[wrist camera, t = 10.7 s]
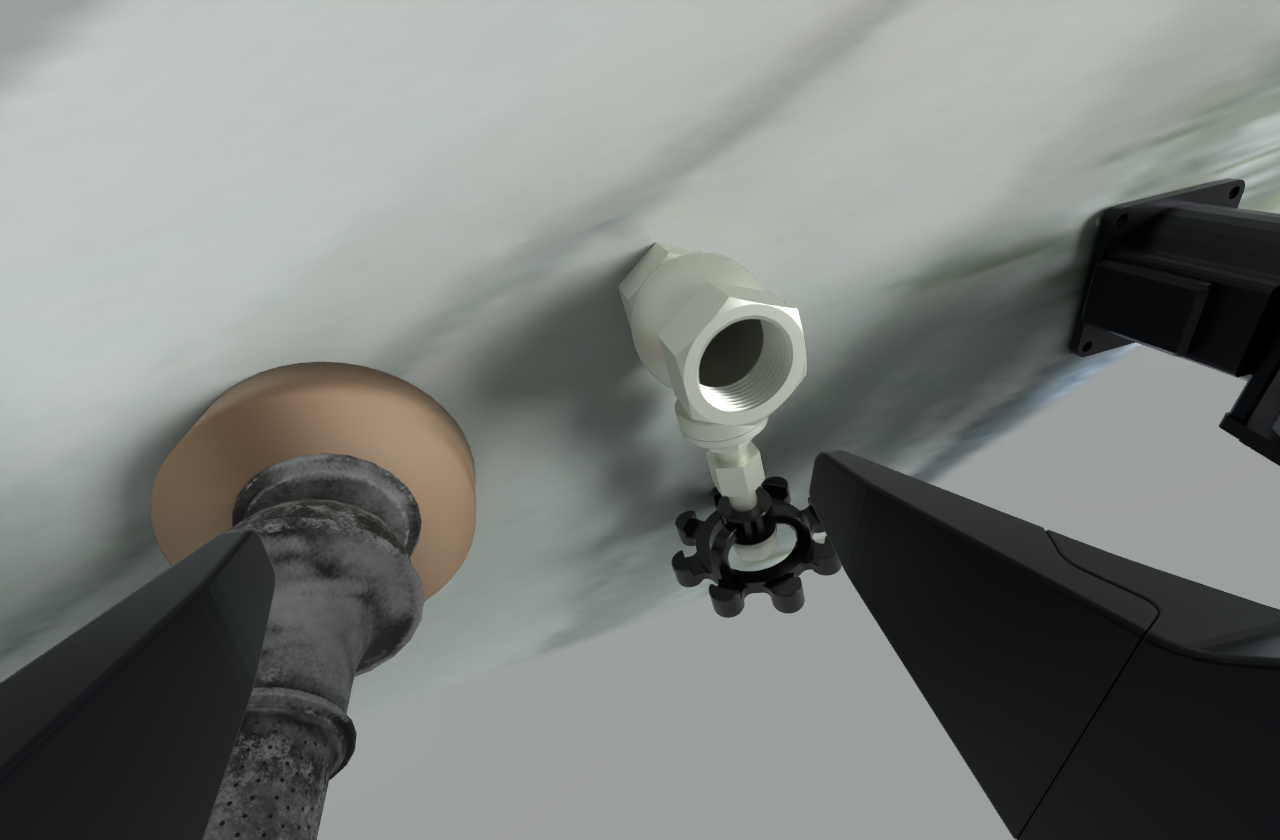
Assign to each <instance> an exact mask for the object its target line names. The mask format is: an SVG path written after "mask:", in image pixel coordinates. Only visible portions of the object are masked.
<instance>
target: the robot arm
mask: <svg viewBox="0 0 1280 840" xmlns="http://www.w3.org/2000/svg"><path fill="white" fill-rule="evenodd" d="M1244 188H1245V182H1244V181H1243V180H1240V179H1224V180H1220V181H1216V182H1212V183H1208V184H1204V185H1199V186H1195V187H1191V188H1187V189H1183V190H1179V191H1175V192H1171V193H1166V194H1162V195H1158V196H1154V197H1150V198H1146V199H1142V200H1138V201H1133V202H1129V203H1125V204H1121V205H1117V206H1114V207H1112V208H1111V209H1110V210H1109V211H1108V212H1107V213H1106V215H1105V216H1104V218H1103V221H1102V225H1101V228H1100V232H1099V236H1098V240H1097V244H1096V248H1095V251H1094V255H1093V259H1092V263H1091V267H1090V271H1089V274H1088V278H1087V282H1086V286H1085V290H1084V294H1083V298H1082V301H1081V305H1080V309H1079V313H1078V317H1077V321H1076V324H1075V328H1074V332H1073V336H1072V340H1071V344H1070V352H1071V353H1073V354H1075V355H1077V356H1080V357H1086V356H1089V355H1093V354H1096V353H1100V352H1103V351H1107V350H1110V349H1114V348H1117V347H1121V346H1124V345H1128V344H1131V343H1135V342H1137V343H1139V344H1142V345H1145V346H1148V347H1151V348H1154V349H1156V350H1159V351H1162V352H1165V353H1168V354H1170V355H1173V356H1178V357H1181V358H1183V359H1186V360H1189V361H1192V362H1195V363H1198V364H1200V365H1204V366H1206V367H1209V368H1212V369H1215V370H1217V371H1220V372H1223V373H1226V374H1229V375H1231V376H1234V377H1237V378H1240V379H1243V380H1246V381H1248V382H1247V384H1246V385H1245V387H1244V389H1243V391H1242V392H1241V394H1240V396H1239V398H1238V399H1237V401H1236V403H1235V404H1234V406H1233V408H1232V409H1231V411H1230V413H1226V414H1225V415H1224V417H1223V419H1222V420H1221V422H1220V424H1219V427H1220V428H1221V429H1223V430H1225V431H1226V432H1228V433H1230V434H1231V435H1233V436H1234V437H1236V438H1238V439H1239V441H1240V442H1242V443H1243V444H1245V445H1246V446H1248V447H1250V448H1251V449H1253V450H1255V451H1256V452H1258V453H1260V454H1261V455H1263V456H1265V457H1266V458H1268V459H1269V460H1271V461H1272V462H1274V463H1276V464H1277V465H1279V466H1280V214H1275V213H1268V212H1260V211H1253V210H1245V209H1238V205H1239V202H1240V200H1241V197H1242V194H1243V192H1244ZM809 494H810V500H811V503H812V506H813V508H814V510H815V512H816V514H817V516H818V518H819V520H820V522H821V524H822V526H823V528H824V530H825V532H826V534H827V536H828V538H829V540H830V542H831V544H832V546H833V548H834V550H835V552H836V554H837V556H838V558H839V561H840V562H841V564H842V566H843V568H844V570H845V572H846V574H847V575H848V577H849V579H850V580H851V582H852V584H853V585H854V587H855V588H856V590H857V592H858V593H859V595H860V596H861V598H862V600H863V601H864V603H865V604H866V606H867V607H868V609H869V610H870V612H871V614H872V615H873V617H874V618H875V620H876V622H877V623H878V625H879V626H880V628H881V630H882V631H883V632H884V634H885V636H886V637H887V639H888V641H889V642H890V644H891V645H892V647H893V649H894V650H895V652H896V653H897V655H898V656H899V658H900V660H901V661H902V663H903V664H904V666H905V667H906V669H907V670H908V672H909V674H910V675H911V677H912V678H913V680H914V681H915V683H916V685H917V686H918V688H919V690H920V691H921V693H922V694H923V696H924V697H925V699H926V701H927V702H928V704H929V705H930V707H931V709H932V710H933V711H934V713H935V715H936V716H937V718H938V720H939V721H940V723H941V724H942V726H943V727H944V729H945V731H946V732H947V734H948V735H949V737H950V738H951V740H952V742H953V743H954V745H955V746H956V748H957V749H958V751H959V753H960V754H961V756H962V757H963V759H964V760H965V762H966V764H967V765H968V767H969V769H970V770H971V772H972V773H973V775H974V776H975V778H976V779H977V781H978V783H979V784H980V786H981V787H982V789H983V791H984V792H985V794H986V795H987V797H988V798H989V800H990V801H991V803H992V805H993V806H994V808H995V809H996V811H997V813H998V814H999V816H1000V817H1001V819H1002V820H1003V822H1004V824H1005V825H1006V827H1007V828H1008V830H1009V831H1010V833H1011V835H1012V836H1013V838H1014V839H1017V840H1280V610H1279V609H1276V608H1272V607H1269V606H1266V605H1262V604H1259V603H1256V602H1254V601H1251V600H1247V599H1244V598H1242V597H1239V596H1236V595H1232V594H1230V593H1227V592H1224V591H1221V590H1217V589H1215V588H1211V587H1209V586H1206V585H1203V584H1200V583H1197V582H1194V581H1191V580H1188V579H1185V578H1181V577H1179V576H1176V575H1173V574H1169V573H1167V572H1164V571H1161V570H1158V569H1155V568H1152V567H1149V566H1146V565H1143V564H1140V563H1138V562H1135V561H1131V560H1129V559H1126V558H1123V557H1120V556H1117V555H1114V554H1112V553H1109V552H1106V551H1103V550H1101V549H1098V548H1095V547H1092V546H1090V545H1087V544H1085V543H1082V542H1079V541H1077V540H1074V539H1071V538H1068V537H1066V536H1064V535H1061V534H1058V533H1056V532H1053V531H1051V530H1047V531H1045V530H1044V528H1042V527H1040V526H1037V525H1035V524H1032V523H1030V522H1027V521H1024V520H1022V519H1019V518H1017V517H1013V516H1011V515H1009V514H1006V513H1004V512H1001V511H998V510H996V509H993V508H991V507H988V506H985V505H983V504H980V503H978V502H975V501H972V500H970V499H967V498H965V497H962V496H959V495H957V494H954V493H952V492H949V491H947V490H944V489H941V488H939V487H936V486H934V485H931V484H928V483H926V482H923V481H921V480H918V479H915V478H913V477H910V476H908V475H905V474H902V473H900V472H897V471H895V470H892V469H889V468H887V467H884V466H882V465H879V464H876V463H874V462H871V461H869V460H866V459H863V458H861V457H858V456H856V455H853V454H850V453H848V452H845V451H842V450H833V451H826V452H820V453H819V454H818V455H817V456H816V458H815V462H814V467H813V473H812V479H811V484H810V491H809ZM275 581H276V580H275V572H274V569H273V566H272V564H271V561H270V559H269V557H268V554H267V552H266V549H265V547H264V544H263V542H262V539H261V537H260V535H259V534H258V533H257V532H256V531H255V530H252V529H244V530H237V531H229V532H224V533H221V534H219V535H217V536H216V537H214V538H213V539H211V540H210V541H208V542H207V543H206V544H204V545H203V546H201V547H200V548H198V549H197V550H195V551H194V552H192V553H191V554H189V555H188V556H186V557H185V558H183V559H182V560H181V561H179V562H178V563H176V564H175V565H173V566H172V567H170V568H169V569H167V570H166V571H164V572H163V573H161V574H160V575H158V576H157V577H156V578H154V579H153V580H151V581H150V582H148V583H147V584H145V585H144V586H142V587H141V588H139V589H138V590H136V591H135V592H133V593H132V594H131V595H129V596H128V597H126V598H125V599H123V600H122V601H120V602H119V603H117V604H116V605H114V606H113V607H111V608H110V609H108V610H107V611H106V612H104V613H103V614H101V615H100V616H98V617H97V618H95V619H94V620H92V621H91V622H89V623H88V624H86V625H85V626H83V627H82V628H81V629H79V630H78V631H76V632H75V633H73V634H72V635H70V636H69V637H67V638H66V639H64V640H63V641H61V642H60V643H58V644H57V645H56V646H54V647H53V648H51V649H50V650H48V651H47V652H45V653H44V654H42V655H41V656H39V657H38V658H36V659H35V660H33V661H32V662H31V663H29V664H28V665H26V666H25V667H23V668H22V669H20V670H19V671H17V672H16V673H14V674H13V675H11V676H10V677H8V678H7V679H6V680H4V681H3V682H1V683H0V840H203V838H204V835H205V832H206V829H207V826H208V823H209V820H210V817H211V814H212V811H213V808H214V805H215V802H216V799H217V796H218V793H219V790H220V787H221V784H222V781H223V778H224V775H225V772H226V769H227V766H228V763H229V760H230V757H231V754H232V751H233V748H234V745H235V742H236V739H237V736H238V733H239V730H240V727H241V724H242V721H243V718H244V715H245V712H246V709H247V706H248V703H249V700H250V697H251V694H252V690H253V687H254V684H255V680H256V676H257V672H258V668H259V663H260V658H261V653H262V648H263V643H264V638H265V634H266V629H267V624H268V619H269V614H270V609H271V604H272V599H273V595H274V590H275Z"/></svg>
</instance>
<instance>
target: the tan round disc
mask: <svg viewBox="0 0 1280 840" xmlns="http://www.w3.org/2000/svg"><path fill="white" fill-rule="evenodd" d="M318 453H330V454H341V455H350V456H353V457H356V458H360V459H363V460H366V461H370V462H373V463H375V464H377V465H378V466H380V467H382V468H384V469H386V470H387V471H389V472H391V473H393V474H394V475H395V476H396V477H397V478H398V479H399V480H400V481H402V482H403V483H404V484H405V485H406V486H407V487H408V488H409V490H410V491H411V493H412V495H413V496H414V498H415V500H416V502H417V503H418V506H419V511H420V515H421V520H422V523H421V531H420V538H419V542H418V544H417V546H416V547H415V549H414V551H413V553H412V555H411V557H410V560H411V564H412V566H413V567H414V569H415V571H416V572H417V574H418V575H419V577H420V581H421V585H422V589H423V594H424V601H425V600H427V599H428V598H430V597H431V596H432V595H434V594H435V593H436V592H438V591H439V590H440V589H441V588H442V587H443V586H444V585H445V584H446V583H447V582H448V581H449V580H450V579H451V578H452V577H453V576H454V574H455V573H456V572H457V571H458V569H459V568H460V566H461V565H462V563H463V561H464V560H465V558H466V556H467V554H468V551H469V549H470V546H471V544H472V540H473V535H474V531H475V517H476V508H475V469H474V461H473V457H472V454H471V450H470V447H469V445H468V443H467V440H466V438H465V436H464V434H463V432H462V431H461V429H460V428H459V426H458V425H457V423H456V422H455V420H454V419H453V418H452V417H451V416H450V415H449V413H448V412H447V411H446V410H445V409H444V408H443V407H442V406H441V405H440V404H438V403H437V402H436V401H435V400H434V399H433V398H432V397H430V396H429V395H427V394H426V393H424V392H423V391H422V390H420V389H419V388H417V387H415V386H413V385H412V384H410V383H408V382H406V381H404V380H402V379H400V378H398V377H395V376H392V375H390V374H387V373H385V372H382V371H379V370H375V369H371V368H368V367H364V366H358V365H352V364H346V363H334V362H311V363H299V364H293V365H287V366H281V367H278V368H274V369H271V370H268V371H264V372H261V373H259V374H257V375H254V376H252V377H250V378H248V379H245V380H243V381H242V382H240V383H238V384H237V385H235V386H234V387H232V388H230V389H229V390H227V391H226V392H225V393H224V394H223V395H221V396H220V397H219V398H218V399H217V400H216V401H214V402H213V404H212V405H211V406H210V407H209V408H208V409H207V411H206V412H205V413H204V414H203V415H202V416H201V418H200V419H199V420H198V421H197V422H196V423H195V424H194V426H193V427H192V428H191V429H190V430H189V431H188V433H187V434H186V435H185V436H184V437H183V438H182V439H181V441H180V442H179V443H178V444H177V445H176V446H175V448H174V449H173V450H172V451H171V452H170V453H169V455H168V456H167V457H166V459H165V461H164V462H163V464H162V466H161V468H160V469H159V471H158V473H157V476H156V479H155V482H154V485H153V488H152V494H151V502H150V512H151V523H152V527H153V530H154V534H155V538H156V540H157V542H158V544H159V546H160V549H161V551H162V553H163V554H164V556H165V557H166V559H167V560H168V562H169V563H170V565H171V566H173V565H175V564H176V563H178V562H179V561H181V560H182V559H183V558H185V557H186V556H188V555H189V554H191V553H192V552H194V551H195V549H197V548H199V547H200V546H202V545H203V544H205V543H206V542H208V541H210V540H211V539H213V538H214V537H216V536H217V535H219V534H221V533H222V532H225V531H227V530H228V529H230V528H232V512H233V509H234V506H235V504H236V501H237V498H238V495H239V494H240V492H241V491H242V490H243V488H244V487H245V486H246V485H247V484H248V483H249V481H250V480H251V479H252V478H253V477H254V476H255V475H257V474H258V473H260V472H261V471H263V470H264V469H266V468H268V467H269V466H271V465H272V464H274V463H277V462H280V461H283V460H286V459H289V458H292V457H295V456H299V455H308V454H318Z"/></svg>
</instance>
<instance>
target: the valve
mask: <svg viewBox="0 0 1280 840" xmlns="http://www.w3.org/2000/svg"><path fill="white" fill-rule="evenodd" d="M618 289H619V292H620V296H621V299H622V302H623V305H624V308H625V311H626V315H627V318H628V321H629V324H630V327H631V330H632V337H633V341H634V345H635V348H636V351H637V353H638V355H639V357H640V359H641V361H642V363H643V364H644V365H645V367H646V368H647V369H648V371H649V372H650V373H651V374H652V375H653V376H654V377H655V378H656V379H658V380H659V381H660V382H661V383H663V384H664V385H666V386H668V387H669V388H671V389H673V390H674V393H675V395H676V397H677V398H678V399H677V401H676V404H675V413H676V416H677V419H678V423H679V426H680V430H681V433H682V435H683V437H684V438H685V439H686V440H687V441H688V442H689V443H691V444H693V445H695V446H698V447H701V448H708V450H709V451H708V452H707V453H706V454H705V455H706V459H707V462H708V466H709V470H710V473H711V477H712V480H713V482H714V484H715V486H716V487H715V488H714V489H713V490H712V493H711V494H712V499H713V502H714V506H715V509H716V511H715V512H714V513H713V514H711V515H710V516H709V517H708V518H707V519H706V521H701V520H699V519H697V518H696V514H695V511H687V512H684V513H682V514H681V515H679V516H678V517H677V519H676V522H675V524H676V527H677V530H678V533H679V536H680V539H681V541H682V543H683V544H685V545H688V546H695V545H696V549H697V552H696V554H694V555H693V556H691V557H686V558H685V556H684V553H683V551H682V550H681V551H679V552H677V553H676V554H675V555H674V557H673V558H672V567H673V570H674V572H675V575H676V578H677V581H678V582H679V583H680V584H681V585H682V586H685V587H694V586H696V585H698V584H700V583H701V582H702V581H703V579H706V578H708V579H711V580H712V581H714V582H715V583H717V584H718V586H715V585H713V584H710V586H709V594H710V597H711V601H712V604H713V606H714V610H715V611H716V613H717V614H718V615H720V616H722V617H728V618H730V617H734V616H736V615H738V614H739V613H740V612H741V611H742V610H743V608H744V599H745V597H746V596H747V595H748V594H751V593H761V592H764V593H767V594H769V595H770V596H771V599H772V603H773V605H774V607H775V608H776V609H777V610H778V611H780V612H783V613H794V612H797V611H798V610H800V609H801V608H802V606H803V604H804V601H805V599H804V593H803V587H802V582H801V579H800V577H798V576H799V575H800V574H801V573H802V572H803V571H805V570H808V569H812V570H814V572H816V573H818V574H820V575H832V574H835V573H837V572H838V571H839V570H840V568H841V566H842V564H841V562H840V561H839V558H838V556H837V554H836V552H835V550H834V548H833V546H832V544H831V542H830V540H829V538H828V536H826V537H825V543H824V544H820V543H817V542H815V541H814V540H813V537H812V536H813V534H814V533H821V532H825V530H824V528H823V526H822V524H821V522H820V520H819V518H818V516H817V514H816V512H815V510H814V508H813V506H812V503H811V500H810V497H809V498H808V503H809V506H808V507H807V508H805V509H804V510H801V511H800V510H798V509H797V508H796V507H794V506H793V505H791V504H790V502H791V497H790V492H789V486H788V482H787V481H786V480H785V479H784V478H782V477H770V478H767V479H766V480H764V479H765V475H764V470H763V465H762V461H761V456H760V451H759V450H758V449H757V447H756V446H755V445H754V444H753V443H752V441H751V440H752V439H753V437H755V436H756V435H757V434H759V433H760V432H761V431H762V430H763V429H764V427H765V426H766V424H767V422H768V419H769V415H770V414H771V413H772V412H774V411H775V410H776V409H777V408H778V407H779V406H780V405H781V404H782V403H783V402H784V401H785V400H786V399H787V398H788V397H789V396H790V395H791V394H792V392H793V391H794V390H795V389H796V388H797V386H798V385H799V384H800V383H801V381H802V380H803V378H804V377H805V376H806V374H807V359H806V348H805V341H804V335H803V330H802V325H801V320H800V316H799V312H798V309H797V308H795V307H794V306H792V305H791V304H789V303H787V302H786V301H784V300H782V299H781V298H779V297H778V296H776V295H774V294H773V293H771V292H767V291H765V289H764V288H763V286H762V284H761V283H760V281H759V280H758V279H757V278H756V277H755V275H754V274H753V273H752V272H751V271H749V270H748V269H747V268H746V267H745V266H743V265H742V264H740V263H739V262H737V261H735V260H733V259H731V258H728V257H726V256H723V255H719V254H714V253H705V252H700V251H695V250H690V249H685V248H681V247H676V246H671V245H666V244H661V243H655V244H654V245H653V246H652V247H651V248H650V249H649V250H648V252H647V253H646V254H645V255H644V256H643V257H642V259H641V260H640V261H639V262H638V263H637V264H636V266H635V267H634V268H633V269H632V270H631V271H630V272H629V274H628V275H627V276H626V277H625V278H624V279H623V281H622V282H621V283H620V284H619V286H618ZM760 485H762V488H761V487H759V486H760ZM776 524H787V525H789V526H790V527H791V528H792V529H793V530H794V532H795V534H796V538H797V541H796V544H795V547H794V549H793V550H792V552H791V553H790V554H789V556H788V557H787V558H785V559H784V560H783V561H782V562H780V563H778V564H776V565H774V566H773V567H770V568H767V569H764V570H759V571H739V570H735V569H731V568H730V565H729V561H728V554H729V550H730V548H731V546H732V547H733V549H734V550H735V552H736V554H737V555H738V557H739V558H740V560H745V561H760V560H765V559H766V558H767V557H768V556H769V555H770V554H771V553H772V552H773V550H774V549H775V547H776V546H777V544H778V543H777V539H776V532H777V525H776Z"/></svg>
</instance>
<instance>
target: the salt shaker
mask: <svg viewBox="0 0 1280 840" xmlns="http://www.w3.org/2000/svg"><path fill="white" fill-rule="evenodd" d="M421 523H422V520H421V515H420V511H419V506H418V503H417V502H416V500H415V498H414V496H413V495H412V493H411V491H410V490H409V488H408V487H407V486H406V485H405V484H404V483H403V482H402V481H400V480H399V479H398V478H397V477H396V476H395V475H394V474H393V473H391V472H389V471H387V470H386V469H384V468H382V467H380V466H378V465H377V464H375V463H373V462H370V461H366V460H363V459H360V458H356V457H353V456H350V455H341V454H330V453H318V454H308V455H299V456H295V457H292V458H289V459H286V460H283V461H280V462H277V463H274V464H272V465H271V466H269V467H268V468H266V469H264V470H263V471H261V472H260V473H258V474H257V475H255V476H254V477H253V478H252V479H251V480H250V481H249V483H248V484H247V485H246V486H245V487H244V488H243V490H242V491H241V492H240V494H239V495H238V498H237V501H236V504H235V506H234V509H233V512H232V528H230V529H228V530H227V531H225V532H229V531H237V530H244V529H252V530H255V531H256V532H257V533H258V534H259V535H260V537H261V539H262V542H263V544H264V547H265V549H266V552H267V554H268V557H269V559H270V561H271V564H272V566H273V569H274V572H275V580H276V581H275V590H274V595H273V599H272V604H271V609H270V614H269V619H268V624H267V629H266V634H265V638H264V643H263V648H262V653H261V658H260V663H259V668H258V672H257V676H256V680H255V684H254V687H253V690H252V694H251V697H250V700H249V703H248V706H247V709H246V712H245V715H244V718H243V721H242V724H241V727H240V730H239V733H238V736H237V739H236V742H235V745H234V748H233V751H232V754H231V757H230V760H229V763H228V766H227V769H226V772H225V775H224V778H223V781H222V784H221V787H220V790H219V793H218V796H217V799H216V802H215V805H214V808H213V811H212V814H211V817H210V820H209V823H208V826H207V829H206V832H205V835H204V838H203V840H317V835H318V830H319V825H320V820H321V816H322V811H323V806H324V801H325V796H326V792H327V787H328V782H329V780H330V779H332V778H333V777H334V776H335V775H336V774H337V773H339V772H340V771H341V770H342V769H343V768H344V767H345V766H346V765H347V763H348V762H349V760H350V758H351V756H352V755H353V753H354V750H355V742H356V731H355V728H354V725H353V722H352V720H351V719H350V718H349V717H348V716H347V715H346V713H347V708H348V703H349V698H350V693H351V688H352V683H353V679H354V677H355V676H358V675H360V674H363V673H366V672H368V671H371V670H372V669H374V668H376V667H377V666H379V665H380V664H382V663H384V662H385V661H387V660H389V659H390V658H392V657H393V656H395V655H396V654H397V653H398V652H399V651H400V650H401V649H402V648H403V647H404V646H405V645H406V644H407V643H408V642H409V641H410V640H411V638H412V636H413V634H414V632H415V631H416V629H417V627H418V625H419V623H420V621H421V617H422V611H423V604H424V594H423V589H422V585H421V581H420V577H419V575H418V574H417V572H416V571H415V569H414V567H413V566H412V564H411V560H410V557H411V555H412V553H413V551H414V549H415V547H416V546H417V544H418V542H419V538H420V531H421ZM222 533H224V532H222ZM206 543H207V542H206ZM206 543H205V544H206ZM203 545H204V544H203ZM203 545H202V546H203ZM200 547H201V546H200ZM200 547H199V548H200ZM197 549H198V548H197ZM197 549H195V550H197Z"/></svg>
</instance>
